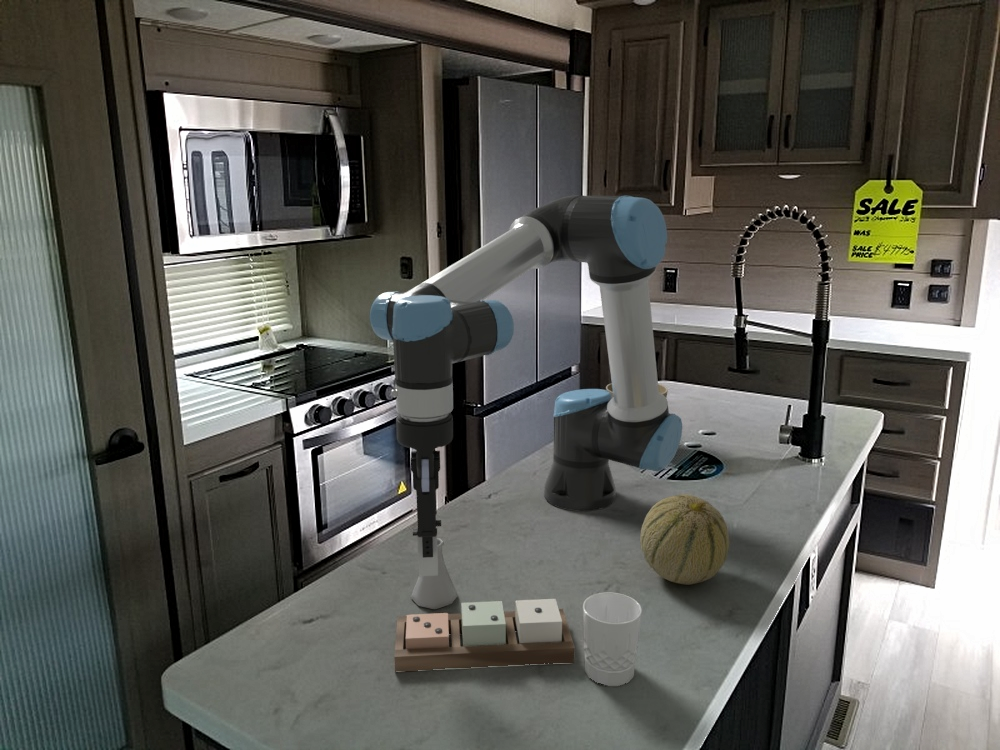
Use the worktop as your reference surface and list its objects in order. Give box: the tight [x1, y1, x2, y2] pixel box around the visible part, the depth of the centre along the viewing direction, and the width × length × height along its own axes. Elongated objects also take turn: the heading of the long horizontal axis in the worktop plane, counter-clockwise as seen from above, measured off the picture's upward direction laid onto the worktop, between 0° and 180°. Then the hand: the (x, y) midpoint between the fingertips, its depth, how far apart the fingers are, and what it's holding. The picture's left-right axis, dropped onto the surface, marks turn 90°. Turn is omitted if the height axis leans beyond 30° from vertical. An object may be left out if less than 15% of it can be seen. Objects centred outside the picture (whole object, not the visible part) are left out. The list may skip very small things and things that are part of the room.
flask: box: [410, 537, 459, 610], centre depth 123 cm, size 7×7×10 cm
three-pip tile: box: [405, 612, 450, 649], centre depth 111 cm, size 6×6×3 cm
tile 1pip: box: [514, 598, 562, 644], centre depth 111 cm, size 6×6×3 cm
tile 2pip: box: [460, 600, 506, 647], centre depth 111 cm, size 6×6×3 cm
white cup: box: [582, 591, 643, 687], centre depth 105 cm, size 8×8×10 cm
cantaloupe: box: [639, 493, 731, 586], centre depth 129 cm, size 15×15×15 cm
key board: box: [393, 608, 576, 673], centre depth 111 cm, size 10×25×2 cm, turn 95°
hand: (428, 573), depth 108 cm, fingers closed
